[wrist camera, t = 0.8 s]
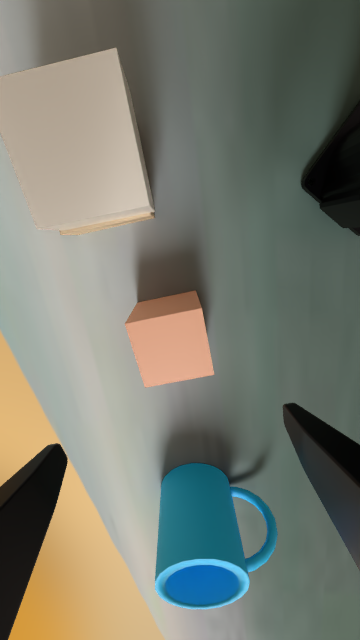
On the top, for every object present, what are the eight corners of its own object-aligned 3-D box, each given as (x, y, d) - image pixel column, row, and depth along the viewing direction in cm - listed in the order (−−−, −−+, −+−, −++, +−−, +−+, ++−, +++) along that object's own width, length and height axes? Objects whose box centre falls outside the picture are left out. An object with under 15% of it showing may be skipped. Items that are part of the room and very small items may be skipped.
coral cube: (137, 302, 19) (124, 323, 14) (195, 290, 19) (201, 308, 14) (152, 353, 21) (145, 387, 16) (205, 343, 21) (214, 374, 16)
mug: (166, 512, 29) (162, 612, 21) (155, 466, 26) (146, 563, 18) (261, 503, 28) (292, 602, 21) (261, 455, 25) (297, 550, 18)
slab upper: (24, 116, 13) (-19, 81, 10) (130, 91, 12) (116, 47, 9) (63, 230, 15) (36, 229, 12) (154, 211, 14) (149, 205, 11)
